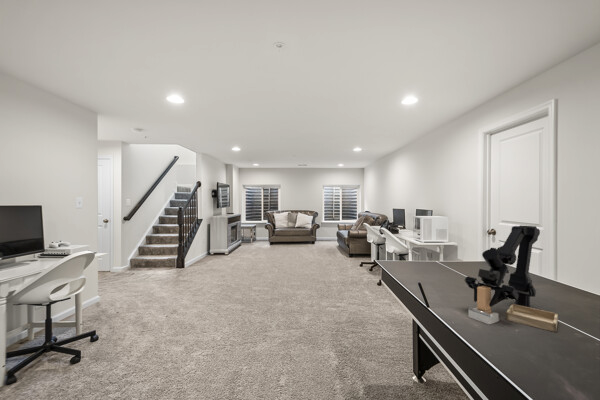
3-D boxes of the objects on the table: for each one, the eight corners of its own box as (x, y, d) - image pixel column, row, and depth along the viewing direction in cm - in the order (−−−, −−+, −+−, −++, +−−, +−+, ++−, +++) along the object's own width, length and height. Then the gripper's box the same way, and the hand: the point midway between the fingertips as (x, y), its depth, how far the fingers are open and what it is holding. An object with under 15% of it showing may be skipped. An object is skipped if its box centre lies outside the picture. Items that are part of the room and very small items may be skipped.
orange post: (483, 316, 113) (483, 285, 113) (491, 318, 110) (490, 287, 111) (477, 318, 111) (477, 287, 111) (485, 320, 108) (484, 289, 109)
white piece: (478, 314, 116) (478, 304, 116) (499, 321, 109) (499, 310, 109) (468, 317, 112) (468, 307, 112) (489, 325, 105) (489, 314, 105)
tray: (511, 311, 120) (511, 303, 120) (557, 321, 109) (557, 313, 109) (506, 320, 110) (505, 312, 110) (556, 333, 99) (556, 324, 99)
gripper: (466, 258, 121) (452, 285, 116) (514, 266, 105) (500, 299, 99) (476, 273, 125) (462, 301, 119) (524, 284, 108) (511, 316, 103)
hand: (482, 303), depth 110 cm, fingers open, 6 cm apart
